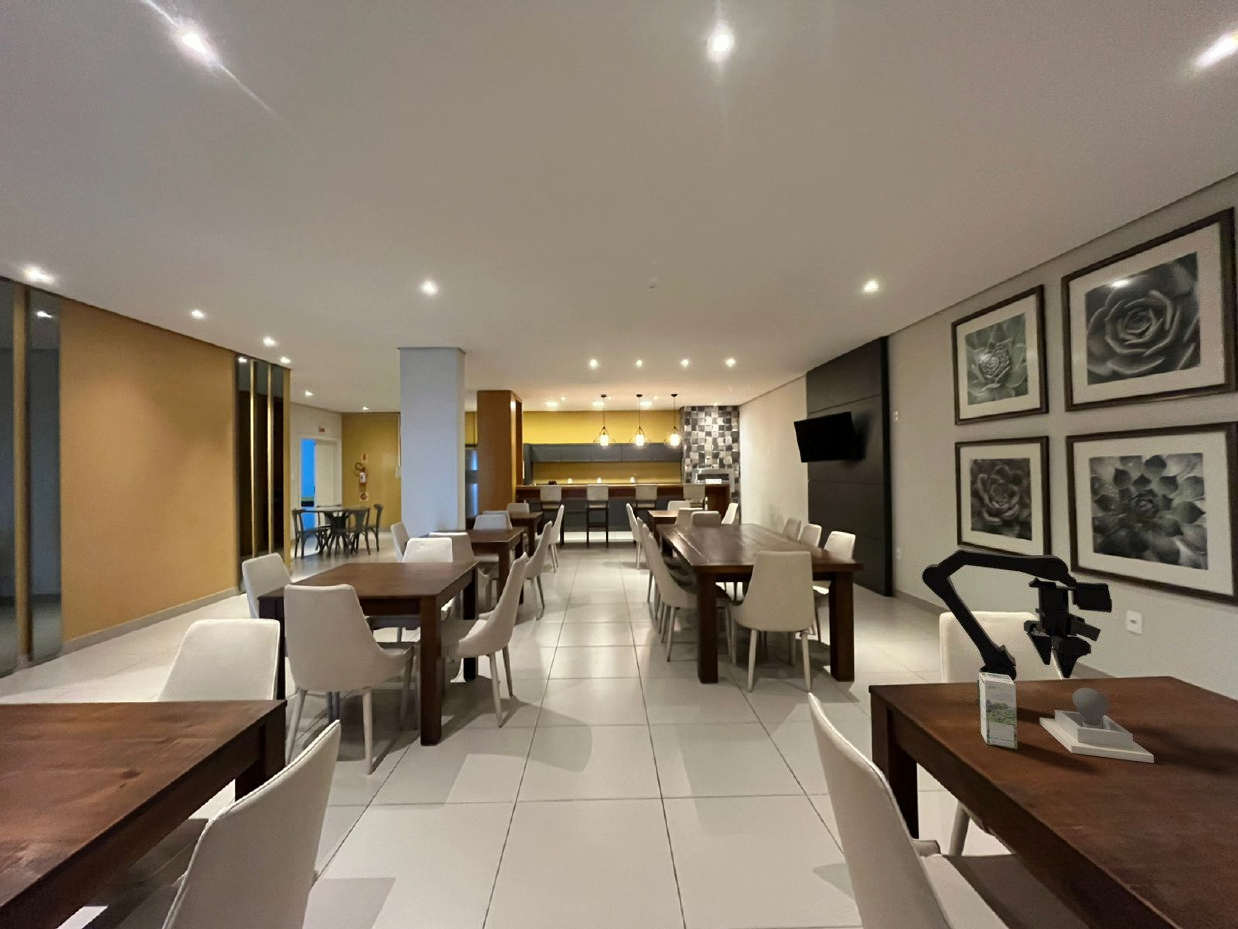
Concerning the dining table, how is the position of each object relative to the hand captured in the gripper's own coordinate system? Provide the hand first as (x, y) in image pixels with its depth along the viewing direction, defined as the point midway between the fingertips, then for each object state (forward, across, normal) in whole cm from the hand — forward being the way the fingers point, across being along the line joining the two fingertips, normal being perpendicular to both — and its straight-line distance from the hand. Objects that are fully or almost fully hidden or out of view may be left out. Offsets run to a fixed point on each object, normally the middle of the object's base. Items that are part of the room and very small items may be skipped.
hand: (1056, 671), depth 125 cm
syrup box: (+12, -16, +18) cm, 27 cm away
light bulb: (+10, -10, -2) cm, 14 cm away
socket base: (+12, -10, -2) cm, 16 cm away
